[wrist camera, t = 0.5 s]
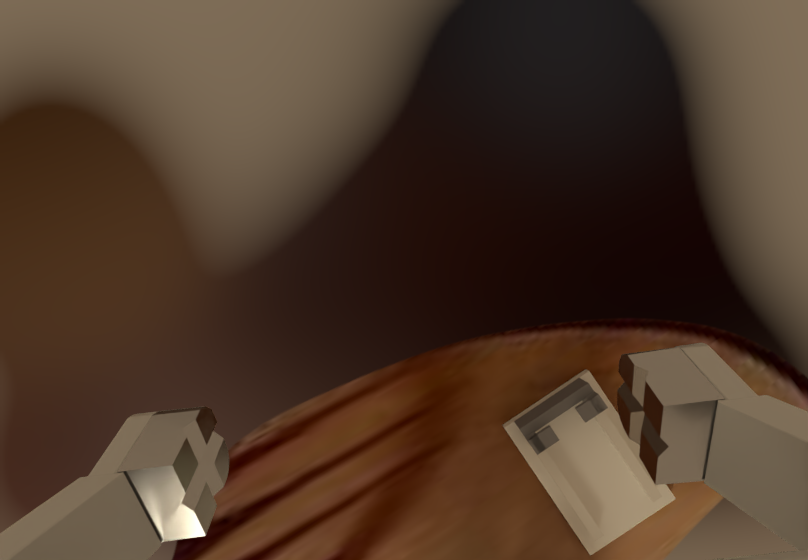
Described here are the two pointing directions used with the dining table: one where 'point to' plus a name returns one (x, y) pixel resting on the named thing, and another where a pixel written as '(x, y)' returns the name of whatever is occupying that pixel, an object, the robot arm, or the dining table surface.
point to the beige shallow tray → (587, 462)
